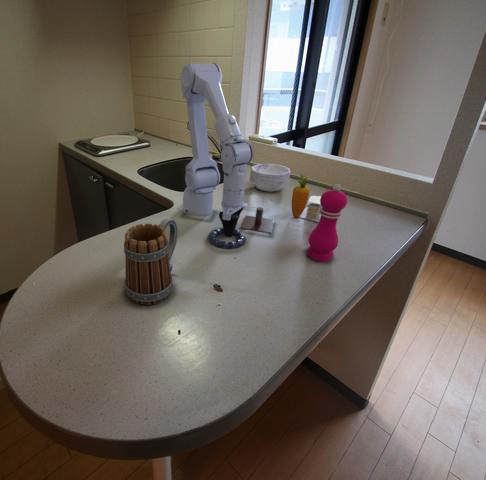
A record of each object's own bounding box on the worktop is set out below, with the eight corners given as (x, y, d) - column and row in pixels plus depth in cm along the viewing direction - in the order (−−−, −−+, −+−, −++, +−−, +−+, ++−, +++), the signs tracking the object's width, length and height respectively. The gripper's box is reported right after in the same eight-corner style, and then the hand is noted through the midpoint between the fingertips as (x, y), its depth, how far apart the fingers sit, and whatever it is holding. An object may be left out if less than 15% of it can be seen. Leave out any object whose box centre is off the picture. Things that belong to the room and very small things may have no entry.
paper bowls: (258, 178, 137) (261, 160, 133) (293, 186, 129) (296, 167, 125) (242, 188, 126) (244, 169, 122) (278, 198, 118) (281, 177, 114)
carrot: (304, 223, 100) (314, 178, 93) (288, 222, 101) (296, 177, 94) (302, 217, 105) (312, 173, 97) (287, 215, 106) (295, 172, 98)
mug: (153, 313, 65) (149, 251, 57) (115, 295, 70) (107, 236, 62) (193, 275, 76) (194, 219, 69) (158, 261, 81) (156, 208, 74)
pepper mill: (333, 251, 87) (353, 181, 77) (334, 265, 81) (355, 191, 71) (305, 246, 89) (321, 177, 79) (304, 259, 83) (321, 187, 73)
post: (240, 232, 95) (242, 212, 92) (245, 219, 103) (247, 200, 99) (270, 237, 93) (273, 217, 90) (273, 223, 100) (276, 205, 97)
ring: (203, 248, 87) (203, 240, 86) (213, 231, 96) (213, 223, 94) (241, 255, 84) (242, 247, 83) (248, 237, 93) (249, 229, 91)
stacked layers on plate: (323, 224, 101) (327, 208, 98) (296, 216, 105) (299, 200, 102) (333, 213, 107) (337, 198, 105) (307, 206, 112) (310, 191, 109)
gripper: (243, 199, 78) (238, 246, 85) (252, 181, 90) (247, 223, 97) (216, 196, 80) (213, 241, 87) (228, 178, 92) (225, 219, 99)
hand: (229, 231), depth 92 cm, fingers open, 4 cm apart
